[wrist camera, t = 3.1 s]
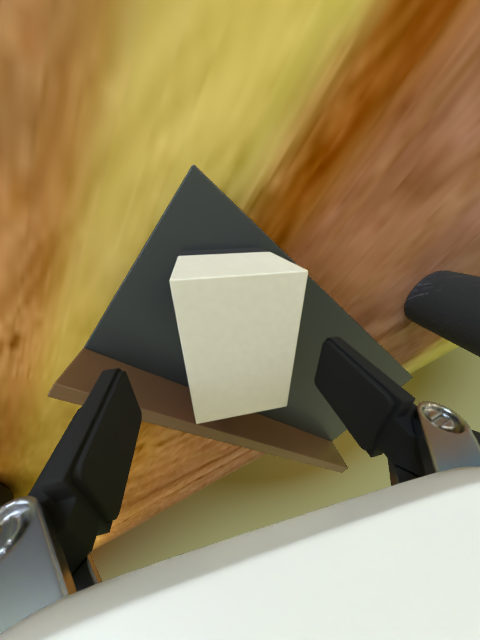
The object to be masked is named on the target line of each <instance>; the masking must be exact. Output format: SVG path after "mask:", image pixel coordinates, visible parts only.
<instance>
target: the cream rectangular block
mask: <svg viewBox="0 0 480 640" xmlns="http://www.w3.org/2000/svg"><path fill="white" fill-rule="evenodd" d="M307 276H308V270H306V269H304V268H302V267H300V266H298V265H296V264H294V263H292V262H290V261H288V260H286V259H284V258H282V257H280V256H278V255H275V254H273V253H271V252H269V251H267V250H265V249H263V248H261V247H252V248H228V249H205V250H181V251H180V253H179V255H178V258H177V261H176V263H175V266H174V269H173V272H172V275H171V277H170V280H169V282H170V288H171V293H172V298H173V304H174V309H175V314H176V320H177V325H178V330H179V336H180V341H181V346H182V352H183V357H184V362H185V368H186V373H187V378H188V384H189V389H190V394H191V400H192V405H193V410H194V416H195V421H196V424H199V423H204V422H209V421H214V420H219V419H225V418H230V417H235V416H240V415H245V414H250V413H255V412H260V411H265V410H270V409H275V408H280V407H285V406H287V402H288V396H289V390H290V383H291V377H292V371H293V364H294V358H295V352H296V346H297V339H298V333H299V327H300V320H301V314H302V308H303V302H304V295H305V289H306V283H307Z"/></svg>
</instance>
